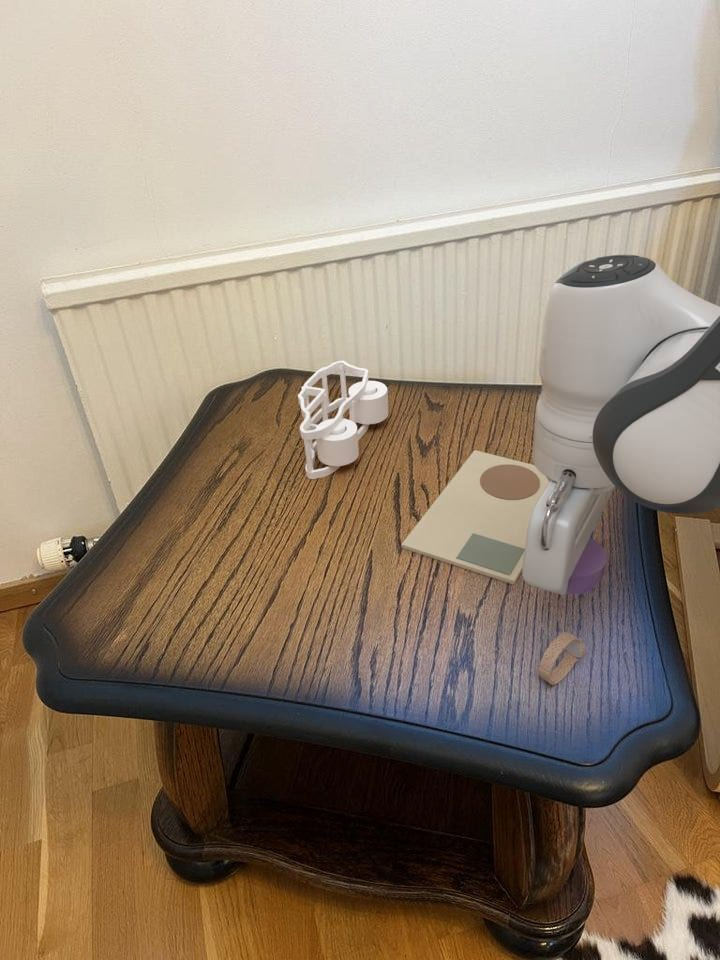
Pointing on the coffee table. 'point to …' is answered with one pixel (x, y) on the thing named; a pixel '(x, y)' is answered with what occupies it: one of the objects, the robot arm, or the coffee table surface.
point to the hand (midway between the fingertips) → (571, 563)
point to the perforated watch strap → (560, 672)
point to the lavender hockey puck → (588, 568)
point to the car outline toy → (339, 417)
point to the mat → (482, 517)
